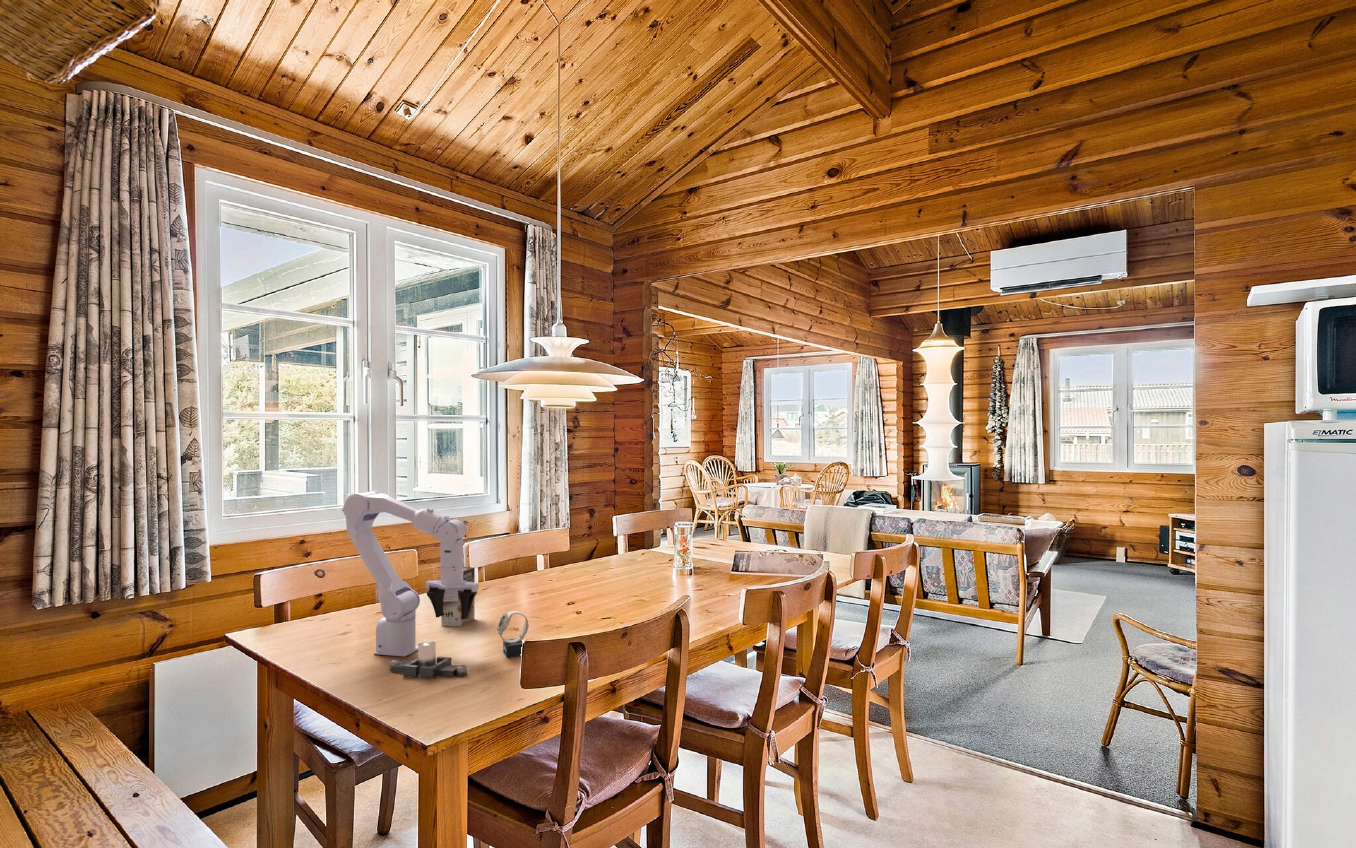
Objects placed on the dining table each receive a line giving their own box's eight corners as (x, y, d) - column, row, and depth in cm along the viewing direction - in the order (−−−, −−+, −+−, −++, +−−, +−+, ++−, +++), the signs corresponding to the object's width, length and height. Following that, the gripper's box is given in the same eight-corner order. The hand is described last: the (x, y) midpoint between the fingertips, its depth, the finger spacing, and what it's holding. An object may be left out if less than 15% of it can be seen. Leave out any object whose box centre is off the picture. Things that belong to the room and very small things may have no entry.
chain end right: (419, 678, 164) (419, 667, 164) (439, 666, 172) (439, 656, 172) (457, 681, 162) (457, 670, 162) (474, 669, 170) (474, 659, 170)
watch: (495, 652, 182) (495, 611, 182) (526, 648, 186) (526, 607, 186) (499, 659, 177) (499, 616, 177) (530, 655, 181) (530, 612, 181)
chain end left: (380, 674, 167) (379, 663, 167) (400, 663, 175) (400, 653, 175) (416, 677, 165) (416, 667, 165) (435, 666, 172) (435, 656, 172)
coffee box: (460, 627, 206) (460, 573, 206) (440, 626, 207) (440, 572, 207) (475, 618, 215) (475, 567, 215) (456, 617, 216) (456, 566, 216)
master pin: (414, 674, 167) (414, 645, 167) (425, 668, 171) (425, 640, 171) (428, 676, 165) (427, 647, 166) (439, 670, 169) (439, 642, 169)
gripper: (418, 567, 180) (418, 619, 180) (468, 570, 177) (468, 623, 177) (434, 562, 187) (434, 612, 187) (482, 564, 184) (482, 615, 184)
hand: (452, 617), depth 182 cm, fingers open, 7 cm apart
